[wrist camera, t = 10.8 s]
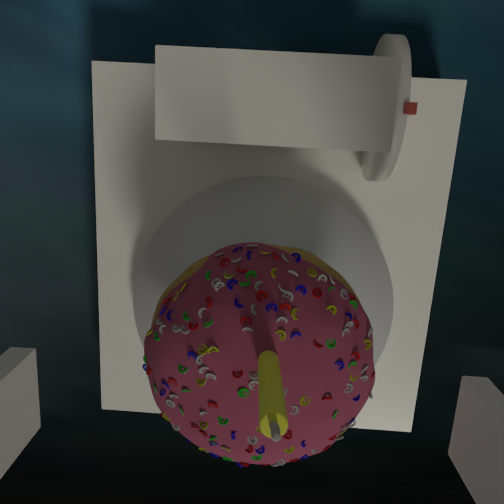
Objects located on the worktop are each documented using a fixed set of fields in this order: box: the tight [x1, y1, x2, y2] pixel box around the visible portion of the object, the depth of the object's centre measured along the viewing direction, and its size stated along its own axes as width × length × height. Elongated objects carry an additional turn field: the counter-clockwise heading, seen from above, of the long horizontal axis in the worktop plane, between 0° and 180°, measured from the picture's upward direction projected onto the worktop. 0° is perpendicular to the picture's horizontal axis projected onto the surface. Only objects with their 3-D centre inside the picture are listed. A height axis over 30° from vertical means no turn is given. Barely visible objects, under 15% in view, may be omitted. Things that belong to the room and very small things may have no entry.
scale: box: [92, 34, 467, 432], centre depth 21 cm, size 16×18×8 cm
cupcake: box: [143, 242, 376, 468], centre depth 16 cm, size 9×8×12 cm
